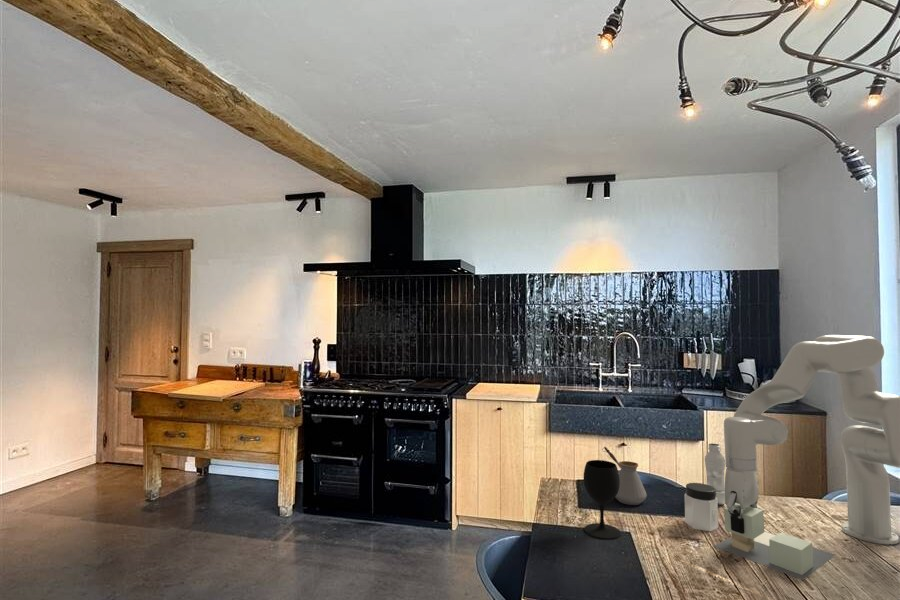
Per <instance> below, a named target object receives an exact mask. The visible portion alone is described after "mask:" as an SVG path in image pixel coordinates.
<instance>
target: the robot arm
mask: <svg viewBox="0 0 900 600" xmlns="http://www.w3.org/2000/svg"><path fill="white" fill-rule="evenodd" d="M884 355H885V349H884V346H883V344H882V342H881V341H880V340H878V339H877V338H876V337H873V336H868V335H867V336H866V335H845V334H844V335H843V334H842V335H841V334H827V335H820V336H818V337H816V338H814V340H813V341H811V340H810V341H800V342H797V343H795V344H794V345H792V347H791V348H790V349H789V351H788V354H787V355H786V356H785V357H784V360H783V361H782V363H781V365H780V366H779V368H778V369H777V371H776V372H775V374H774V376H773V377H772V378H771V380H770V381H768V382H766V383H765V384H763V385H761V386H759V387H758V388H756V389H755V390H754V391H753V390H752V392H750V393H749V394H748V395H747V396H746V397H744V399H743V400H742V401H741V402H740V404H739V406H738V407H737V409H736V410H735V413H734V414H733V416H729V417H726V418H724V420H723V435H724V459H725V473H724V486H725V503H724V504H725V505H726V507H727V508H728V511H729V515H730V518H731V530H732V531H735V532H738V533H741V534H743V533H744V519H743V518H742V515H743V509H744V508H746V507H748V506H751V507H754V508H758V506H757V504H758V500H759V484H758V475H757V472H758V458H757V455H758V454H757V445H763V446H764V445H765V446H777V445H781V444H783V443H784V442H785V441H787V439H788V436H789V430H788V428H787V426H786V424H785V423H784V422H782V421H781V420H780V419H777V418H774V417H772V416H771V417H770V416H766V415H763V414H764V412H766V411H767V410H768V409H770V408H772V407H774V406H776V405H779V404H783V403H787V402H788V403H789V402H792V401H796V400H799V399H802V398H804V397H805V395H806V394H807V392H808V390H809V389H810V387H811V385H812V383H813V382H814V380H815V379H816V377H817V376H818V374H819V373H830V374H836V375H837V378H838V384H839V391H840V397H841V403H842V409H843V413H844V416H846V418H848V419H849V420H852V421H855V422H859V423H862V424H867V425H872V426H873V425H874V426H877V427H882V429H881V428H877V427H872V426H867V425H861V424H859V425H858V424H857V425H856V424H855V425H849V426H847V427H845V428H844V429H843V430H842V431H841V434H840V446H841V449H842V453H843V456H844V460H845V461H844V462H845V471H846V472H845V473H846V497H847V522H844V523H842V524H841V530H842V531H843V532H844V533H846V534H847V535H849V536H850V537H853V538H856V539H858V540H862V541H865V542H869V543H873V544H877V545H878V544H879V545H889V544H891V545H896V544H898V543H899V542H900V536H899V535H897V534H896V533H895V532H893V531H892V514H891V512H892V511H891V492H890V491H891V490H890V489H891V488H890V477H889V474H888V471H887V469H886V468H885V465H886V466H889V467H894V468H898V469H900V395H897V394H893V393H886V392H880V391H879V388H878V387H879V386H878V382H877V378H876V377H877V376H876V374H875V371H874V369H873V367H874V366H877V365H878V364H879V363H880V362H881V361H882V360H883V358H884ZM735 503H738V504H740V506H738V505H735ZM735 508H739V513H738V511H737V510H735Z"/></svg>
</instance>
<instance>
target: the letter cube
mask: <svg viewBox="0 0 900 600" xmlns="http://www.w3.org/2000/svg"><path fill="white" fill-rule="evenodd" d="M730 534H731V536H732V547H735V548H738V549H740V550H743V551H746V552H749V551H750V550H752V549H754V539H753V540H752V539H749V538H746V537H744V536H741V535H738V534H735V533H732V532H730Z"/></svg>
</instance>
